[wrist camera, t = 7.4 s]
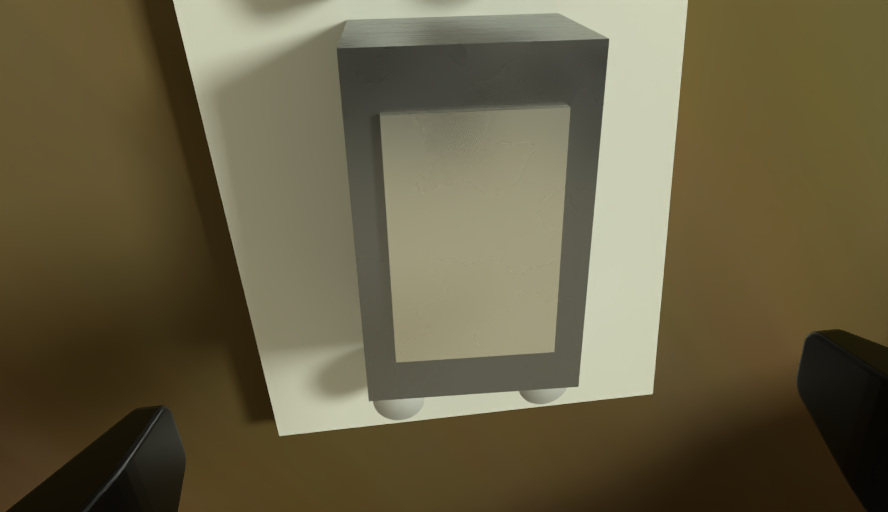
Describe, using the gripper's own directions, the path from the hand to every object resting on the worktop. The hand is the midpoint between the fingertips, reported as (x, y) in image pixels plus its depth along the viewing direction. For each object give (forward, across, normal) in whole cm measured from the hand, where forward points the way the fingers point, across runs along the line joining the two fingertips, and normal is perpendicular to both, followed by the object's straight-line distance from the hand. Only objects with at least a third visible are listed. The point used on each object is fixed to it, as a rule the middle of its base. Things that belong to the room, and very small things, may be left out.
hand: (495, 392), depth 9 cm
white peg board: (+10, 0, 0) cm, 10 cm away
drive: (+9, 0, 0) cm, 9 cm away
